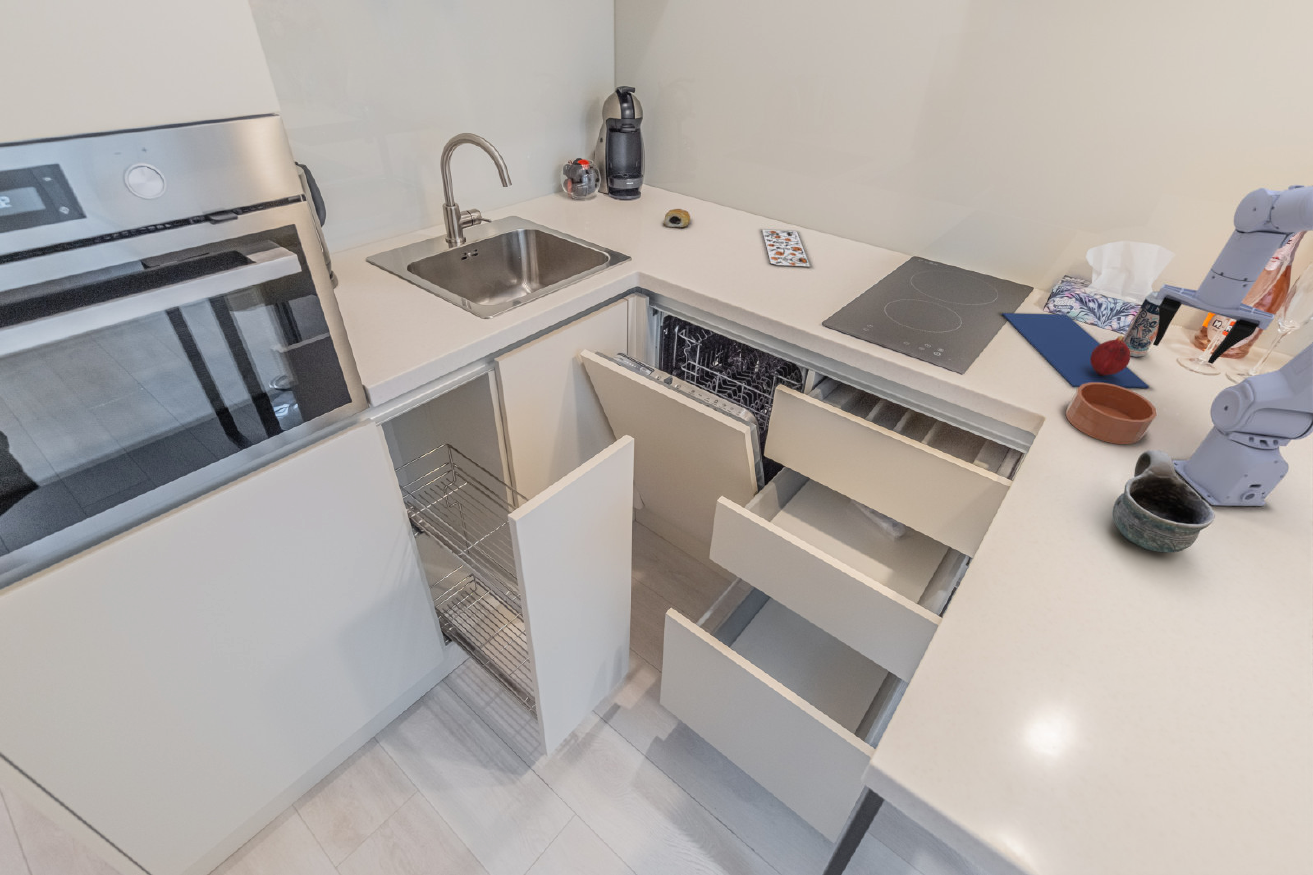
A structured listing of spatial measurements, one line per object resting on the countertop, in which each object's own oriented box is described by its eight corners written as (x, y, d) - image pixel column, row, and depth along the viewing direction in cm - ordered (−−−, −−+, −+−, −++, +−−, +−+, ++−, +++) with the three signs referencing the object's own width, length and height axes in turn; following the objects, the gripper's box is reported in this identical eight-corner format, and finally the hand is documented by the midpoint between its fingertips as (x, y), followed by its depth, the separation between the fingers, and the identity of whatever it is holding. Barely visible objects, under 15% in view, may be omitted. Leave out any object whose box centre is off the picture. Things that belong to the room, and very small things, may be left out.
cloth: (1148, 388, 112) (1149, 386, 112) (1072, 386, 112) (1073, 384, 112) (1065, 316, 134) (1066, 314, 134) (1002, 314, 134) (1002, 313, 134)
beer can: (1117, 354, 122) (1149, 297, 115) (1116, 343, 125) (1147, 288, 118) (1145, 360, 120) (1180, 303, 113) (1143, 350, 124) (1177, 294, 116)
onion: (1123, 385, 112) (1146, 347, 107) (1088, 381, 113) (1110, 342, 108) (1111, 369, 117) (1133, 331, 112) (1078, 365, 117) (1098, 327, 112)
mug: (1125, 563, 79) (1168, 506, 73) (1075, 495, 89) (1109, 440, 83) (1200, 566, 79) (1250, 510, 73) (1142, 498, 89) (1181, 443, 83)
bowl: (1158, 445, 99) (1173, 422, 96) (1088, 443, 99) (1102, 421, 96) (1116, 404, 108) (1129, 382, 105) (1052, 403, 107) (1063, 381, 105)
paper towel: (810, 266, 150) (771, 264, 150) (809, 266, 150) (771, 264, 150) (796, 230, 169) (762, 229, 169) (796, 231, 169) (762, 229, 169)
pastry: (670, 215, 176) (671, 201, 174) (693, 218, 175) (695, 204, 173) (662, 226, 169) (663, 212, 167) (686, 229, 168) (687, 215, 165)
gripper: (1297, 281, 92) (1240, 360, 100) (1182, 252, 100) (1139, 328, 108) (1292, 295, 88) (1233, 376, 96) (1173, 264, 96) (1128, 342, 104)
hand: (1183, 352), depth 102 cm, fingers open, 7 cm apart
